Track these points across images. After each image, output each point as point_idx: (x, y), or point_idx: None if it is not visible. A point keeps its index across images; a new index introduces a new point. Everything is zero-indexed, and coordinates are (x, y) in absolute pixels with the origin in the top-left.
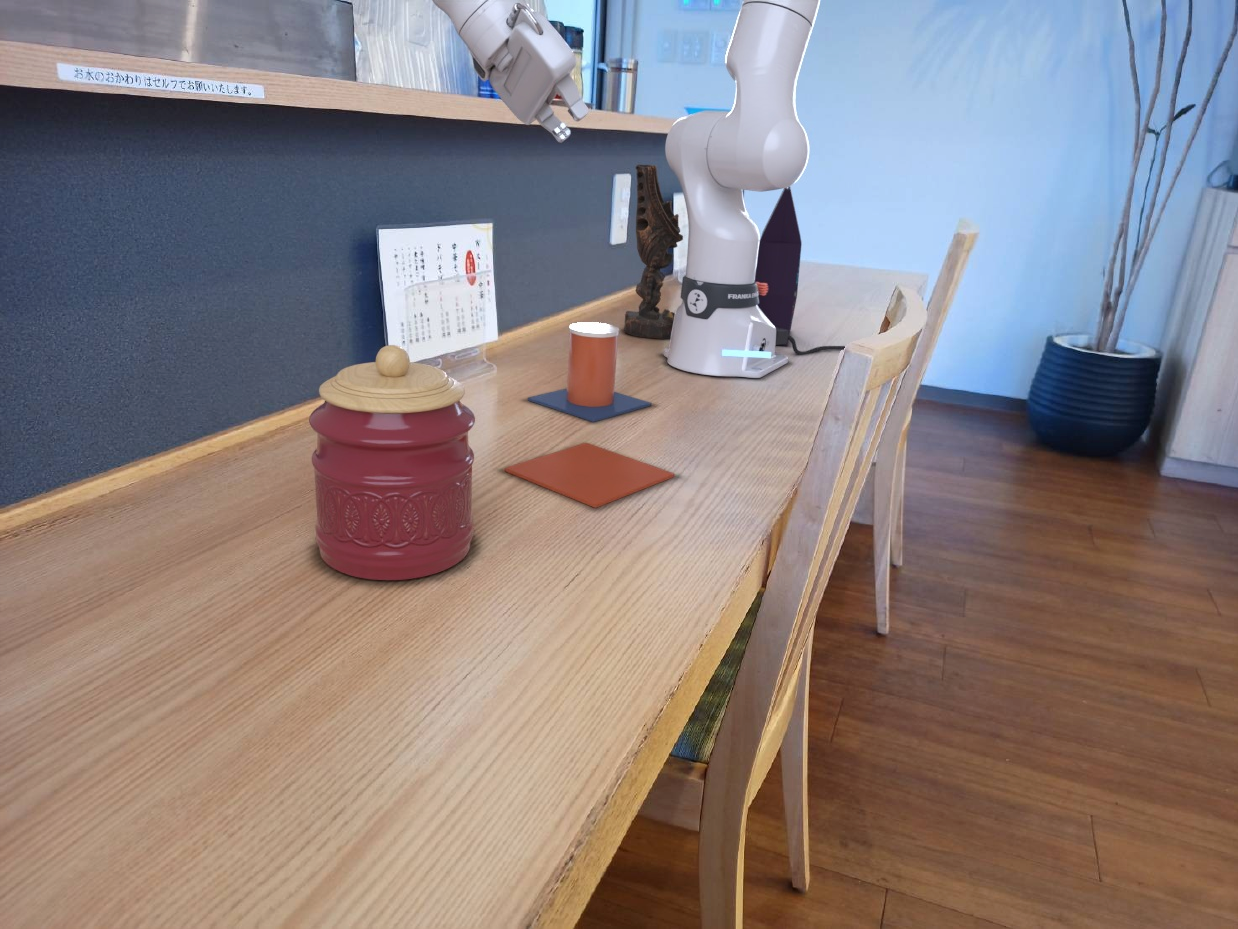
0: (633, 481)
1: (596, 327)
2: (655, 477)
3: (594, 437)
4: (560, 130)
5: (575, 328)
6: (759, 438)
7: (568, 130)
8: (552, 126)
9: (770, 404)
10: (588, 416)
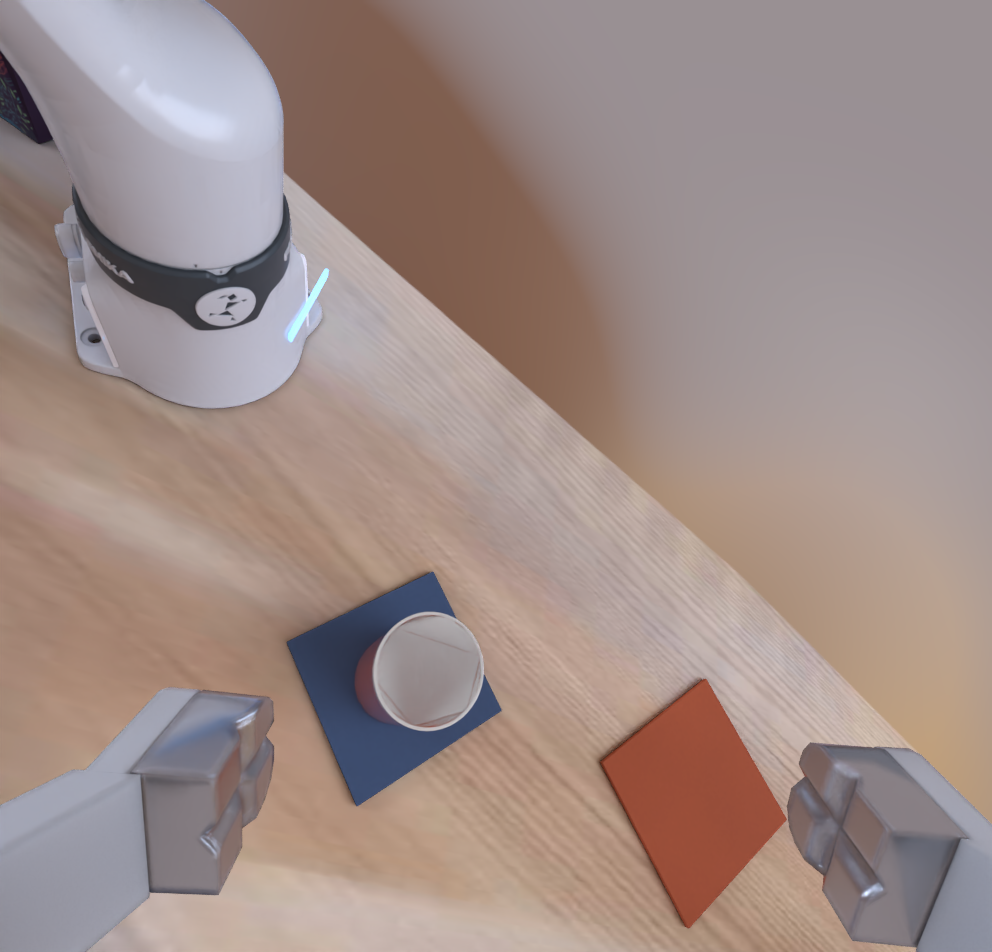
0: (728, 743)
1: (429, 662)
2: (717, 709)
3: (565, 734)
4: (240, 810)
5: (435, 720)
6: (588, 497)
7: (258, 721)
8: (103, 899)
9: (456, 389)
10: (487, 714)
